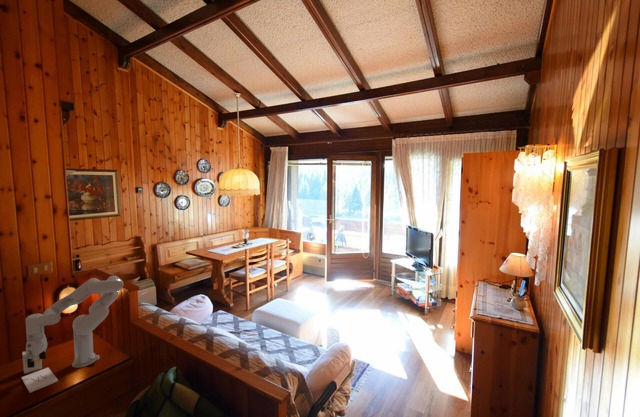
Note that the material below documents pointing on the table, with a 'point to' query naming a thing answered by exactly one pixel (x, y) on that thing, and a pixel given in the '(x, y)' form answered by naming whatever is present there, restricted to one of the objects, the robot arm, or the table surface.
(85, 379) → the table surface
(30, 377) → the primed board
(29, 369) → the supplement box
